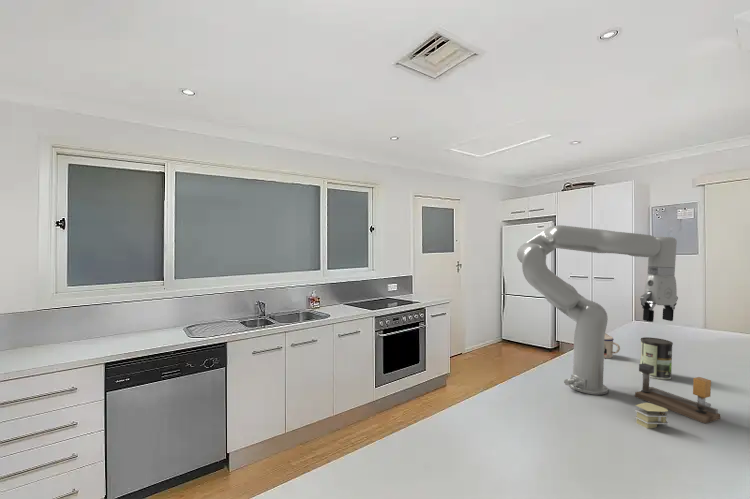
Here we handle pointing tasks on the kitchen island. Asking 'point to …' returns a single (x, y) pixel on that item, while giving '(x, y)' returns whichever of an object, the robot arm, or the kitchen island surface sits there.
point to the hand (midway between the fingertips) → (657, 320)
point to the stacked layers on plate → (650, 415)
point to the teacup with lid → (609, 346)
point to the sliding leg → (702, 391)
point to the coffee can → (657, 356)
